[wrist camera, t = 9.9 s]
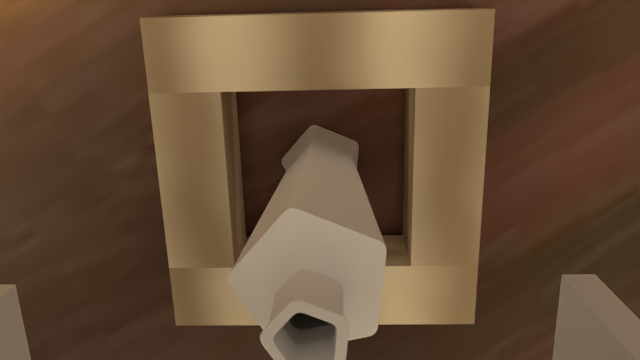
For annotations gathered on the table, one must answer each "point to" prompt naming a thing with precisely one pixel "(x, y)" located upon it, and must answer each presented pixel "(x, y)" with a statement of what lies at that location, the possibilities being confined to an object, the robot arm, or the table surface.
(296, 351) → the perfume bottle
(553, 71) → the table surface
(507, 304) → the table surface
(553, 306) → the table surface
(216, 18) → the square wooden frame
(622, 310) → the robot arm
